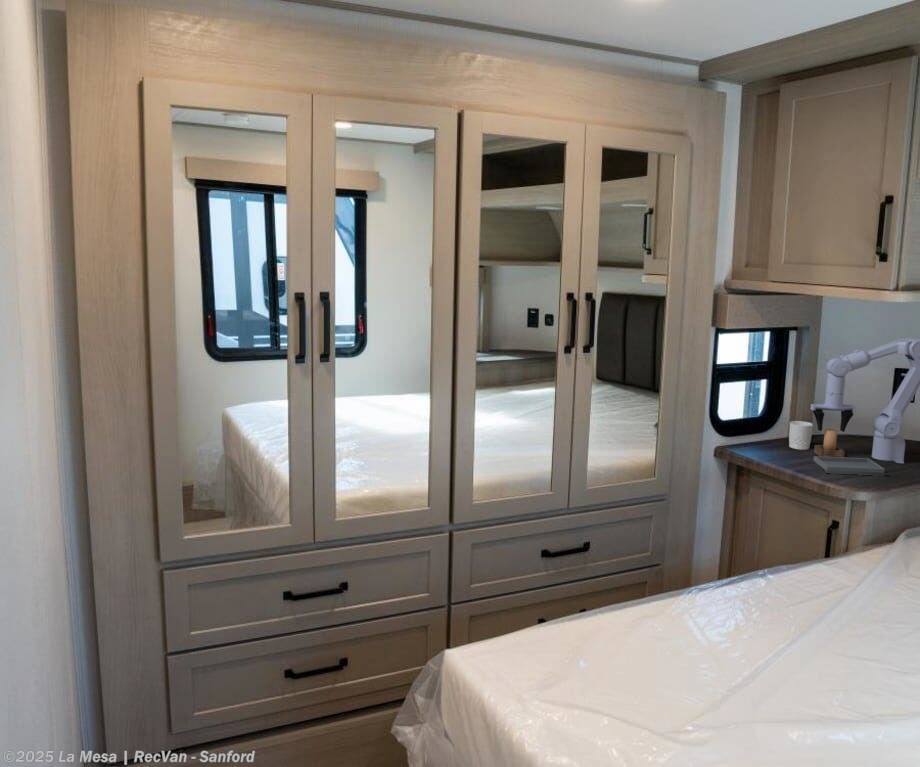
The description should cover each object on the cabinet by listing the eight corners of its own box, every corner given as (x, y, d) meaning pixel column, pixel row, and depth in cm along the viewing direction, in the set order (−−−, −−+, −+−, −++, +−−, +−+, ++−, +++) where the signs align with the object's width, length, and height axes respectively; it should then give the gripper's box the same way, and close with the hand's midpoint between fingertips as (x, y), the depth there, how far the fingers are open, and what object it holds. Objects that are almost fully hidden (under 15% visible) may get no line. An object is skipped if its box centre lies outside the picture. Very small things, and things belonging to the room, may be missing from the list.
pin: (832, 453, 274) (834, 429, 272) (836, 456, 270) (839, 431, 268) (820, 453, 274) (823, 428, 273) (824, 456, 270) (827, 431, 269)
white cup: (812, 453, 278) (815, 426, 276) (789, 451, 280) (792, 425, 278) (807, 447, 286) (810, 421, 284) (785, 446, 287) (787, 420, 286)
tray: (867, 465, 263) (868, 458, 262) (884, 476, 250) (884, 469, 250) (813, 463, 265) (813, 456, 264) (826, 474, 252) (827, 466, 252)
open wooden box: (835, 455, 276) (836, 445, 275) (843, 460, 268) (844, 451, 267) (813, 454, 276) (814, 445, 276) (821, 460, 269) (822, 450, 268)
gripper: (852, 391, 271) (848, 428, 274) (809, 390, 273) (805, 427, 275) (859, 395, 264) (855, 433, 267) (816, 393, 266) (812, 431, 268)
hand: (831, 430), depth 270 cm, fingers open, 7 cm apart
